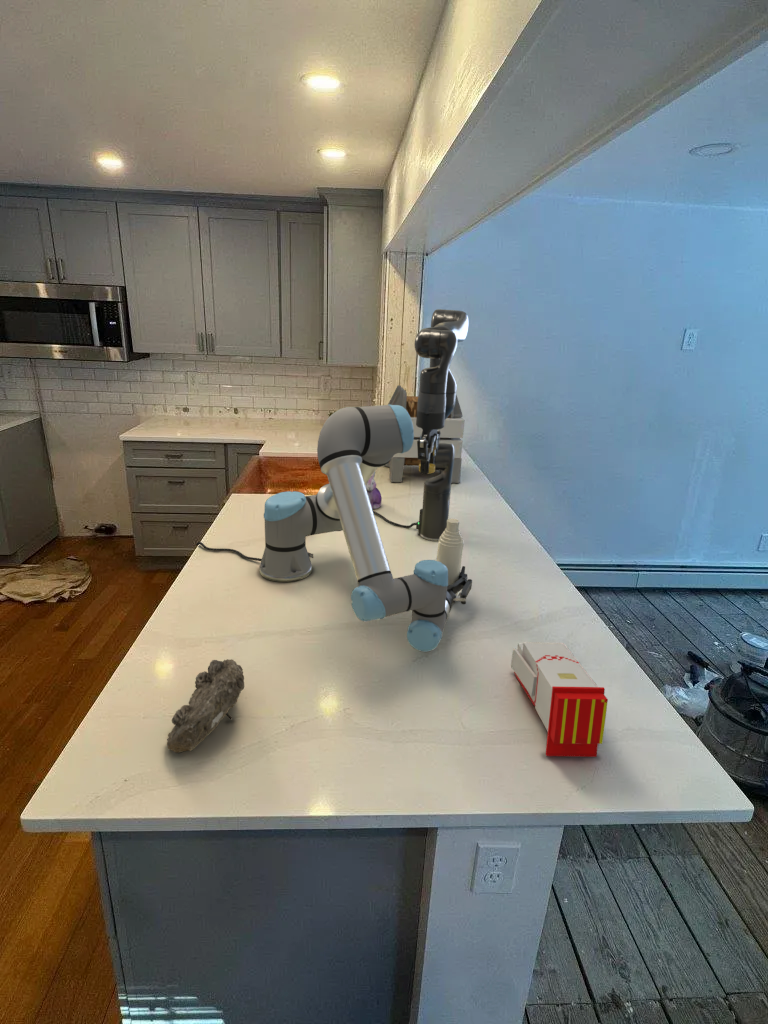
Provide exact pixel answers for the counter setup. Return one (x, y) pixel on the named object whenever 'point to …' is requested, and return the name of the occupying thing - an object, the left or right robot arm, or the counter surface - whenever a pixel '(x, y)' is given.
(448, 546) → the bottle
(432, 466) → the cap
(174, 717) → the fossil
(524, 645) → the toy
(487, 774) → the counter surface
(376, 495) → the figurine
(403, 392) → the transformer
